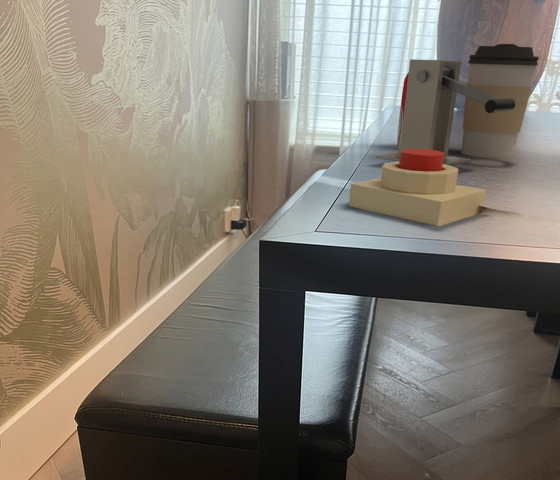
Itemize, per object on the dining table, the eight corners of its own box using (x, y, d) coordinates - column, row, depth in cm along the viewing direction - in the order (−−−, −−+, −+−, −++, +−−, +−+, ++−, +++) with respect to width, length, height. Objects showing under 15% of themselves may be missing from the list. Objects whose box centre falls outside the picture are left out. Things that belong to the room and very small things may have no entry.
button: (449, 172, 57) (452, 152, 56) (426, 176, 55) (429, 156, 54) (413, 166, 60) (415, 147, 59) (389, 170, 57) (391, 151, 56)
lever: (510, 117, 74) (519, 97, 73) (490, 119, 71) (500, 98, 70) (432, 81, 80) (439, 62, 78) (410, 82, 77) (417, 62, 75)
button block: (482, 213, 58) (490, 170, 56) (437, 227, 53) (444, 179, 51) (395, 196, 64) (400, 156, 62) (348, 206, 59) (351, 164, 57)
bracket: (470, 168, 81) (487, 61, 75) (438, 175, 76) (454, 60, 70) (407, 158, 88) (419, 59, 82) (374, 164, 82) (384, 58, 76)
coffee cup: (517, 168, 83) (542, 43, 76) (450, 162, 85) (468, 41, 78) (518, 159, 90) (541, 44, 83) (456, 154, 93) (473, 43, 86)
